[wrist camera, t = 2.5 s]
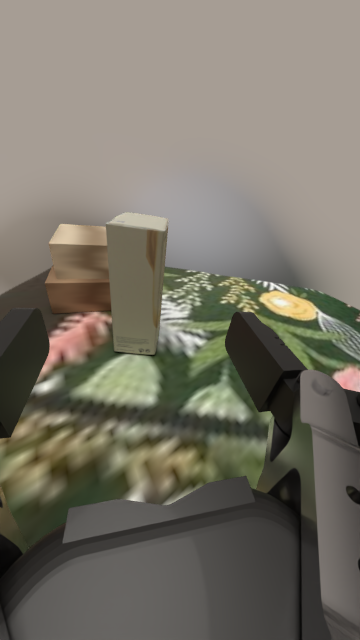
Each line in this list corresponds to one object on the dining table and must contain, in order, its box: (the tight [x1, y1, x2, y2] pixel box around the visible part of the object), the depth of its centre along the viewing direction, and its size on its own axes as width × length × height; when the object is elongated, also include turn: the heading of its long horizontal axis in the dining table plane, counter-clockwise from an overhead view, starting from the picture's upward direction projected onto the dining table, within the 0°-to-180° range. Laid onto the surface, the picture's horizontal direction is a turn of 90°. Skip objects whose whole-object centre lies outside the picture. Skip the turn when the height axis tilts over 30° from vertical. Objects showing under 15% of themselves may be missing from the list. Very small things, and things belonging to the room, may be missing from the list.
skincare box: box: [106, 212, 168, 355], centre depth 20 cm, size 6×4×12 cm
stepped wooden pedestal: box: [45, 224, 111, 314], centre depth 29 cm, size 11×11×8 cm
